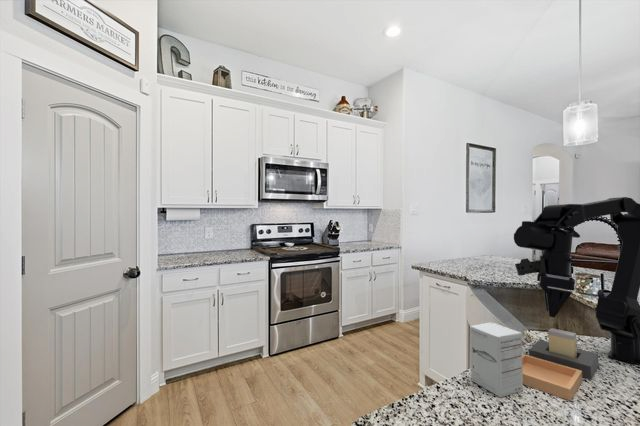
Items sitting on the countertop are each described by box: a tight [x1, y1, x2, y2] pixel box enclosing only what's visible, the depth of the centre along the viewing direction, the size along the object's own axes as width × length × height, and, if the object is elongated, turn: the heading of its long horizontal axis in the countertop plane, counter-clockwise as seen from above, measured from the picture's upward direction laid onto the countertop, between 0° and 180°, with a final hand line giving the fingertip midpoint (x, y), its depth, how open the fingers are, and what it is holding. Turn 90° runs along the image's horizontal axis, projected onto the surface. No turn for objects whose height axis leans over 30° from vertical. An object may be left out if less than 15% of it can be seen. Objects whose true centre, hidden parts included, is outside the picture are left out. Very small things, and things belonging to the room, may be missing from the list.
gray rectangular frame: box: [528, 339, 600, 381], centre depth 75 cm, size 10×12×3 cm
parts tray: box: [522, 353, 583, 402], centre depth 68 cm, size 12×12×2 cm
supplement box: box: [469, 321, 524, 398], centre depth 65 cm, size 7×7×13 cm
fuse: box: [547, 327, 578, 358], centre depth 75 cm, size 3×5×8 cm, turn 40°
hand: (550, 314), depth 75 cm, fingers open, 9 cm apart
